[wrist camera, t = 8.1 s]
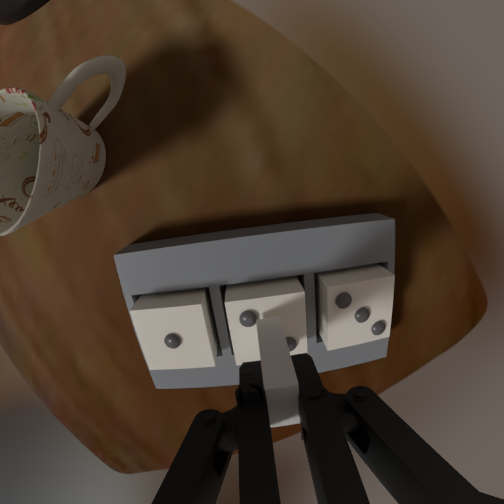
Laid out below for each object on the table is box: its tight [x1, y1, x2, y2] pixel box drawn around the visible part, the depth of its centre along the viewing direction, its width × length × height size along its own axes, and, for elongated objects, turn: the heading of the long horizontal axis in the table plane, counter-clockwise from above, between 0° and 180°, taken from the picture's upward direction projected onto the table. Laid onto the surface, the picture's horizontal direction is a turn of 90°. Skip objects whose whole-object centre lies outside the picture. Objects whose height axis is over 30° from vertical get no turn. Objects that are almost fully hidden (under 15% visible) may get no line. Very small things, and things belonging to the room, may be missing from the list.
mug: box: [0, 55, 126, 236], centre depth 14 cm, size 8×13×10 cm, turn 136°
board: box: [114, 213, 395, 389], centre depth 22 cm, size 12×20×3 cm, turn 97°
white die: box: [225, 276, 307, 366], centre depth 20 cm, size 5×5×4 cm
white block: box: [130, 287, 218, 370], centre depth 20 cm, size 5×5×4 cm
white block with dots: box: [314, 263, 395, 351], centre depth 20 cm, size 5×5×4 cm
